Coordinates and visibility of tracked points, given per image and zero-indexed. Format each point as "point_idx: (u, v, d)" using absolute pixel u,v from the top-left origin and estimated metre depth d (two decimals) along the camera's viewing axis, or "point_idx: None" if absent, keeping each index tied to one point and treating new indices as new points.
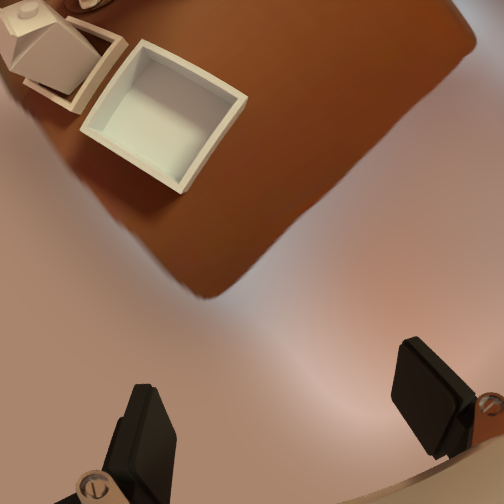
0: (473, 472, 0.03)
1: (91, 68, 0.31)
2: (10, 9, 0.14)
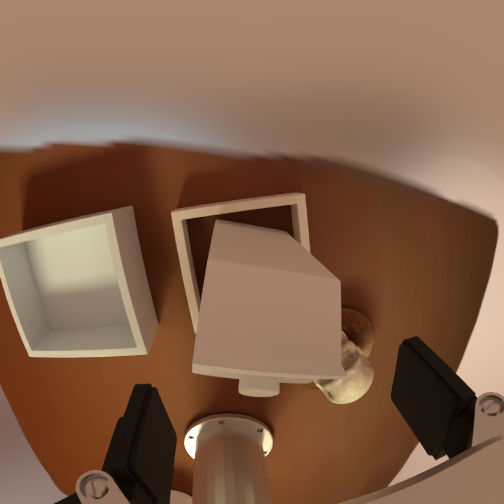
0: (473, 472, 0.03)
1: None
2: None
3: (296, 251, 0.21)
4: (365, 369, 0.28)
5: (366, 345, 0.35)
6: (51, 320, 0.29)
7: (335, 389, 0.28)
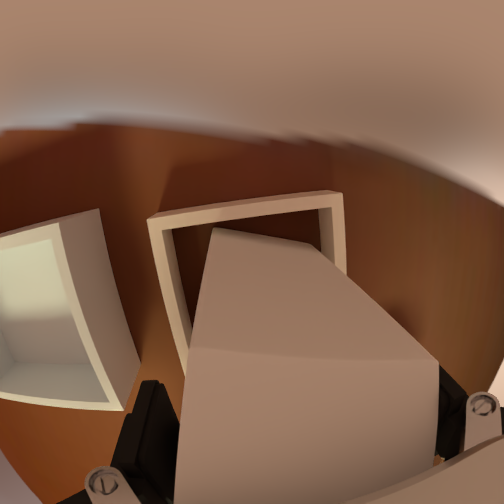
0: (473, 472, 0.03)
1: None
2: None
3: (344, 289, 0.12)
4: None
5: None
6: (14, 350, 0.21)
7: None
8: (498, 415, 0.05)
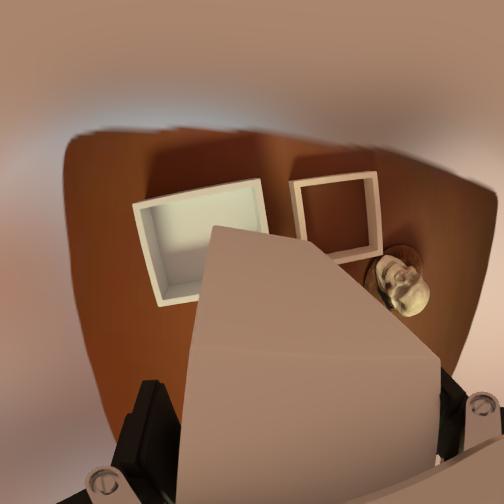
0: (473, 472, 0.03)
1: None
2: None
3: (345, 287, 0.12)
4: (425, 284, 0.39)
5: None
6: (171, 276, 0.41)
7: (408, 299, 0.39)
8: (497, 415, 0.05)
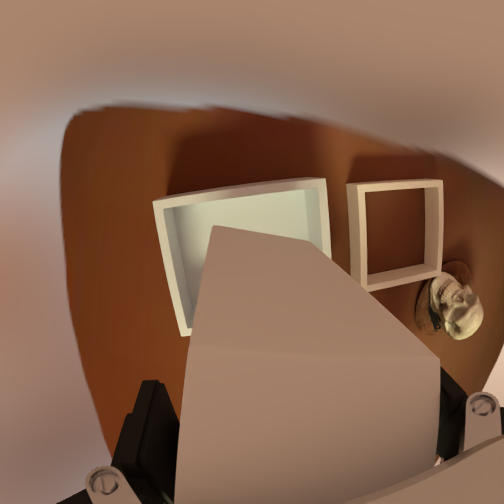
0: (473, 472, 0.03)
1: None
2: None
3: (344, 287, 0.12)
4: (481, 305, 0.31)
5: None
6: (196, 295, 0.33)
7: (465, 322, 0.31)
8: (497, 415, 0.05)
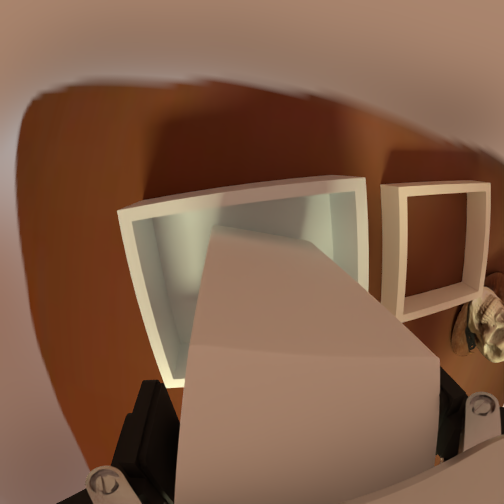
0: (473, 472, 0.03)
1: None
2: None
3: (344, 286, 0.12)
4: None
5: None
6: (185, 329, 0.24)
7: None
8: (497, 415, 0.05)
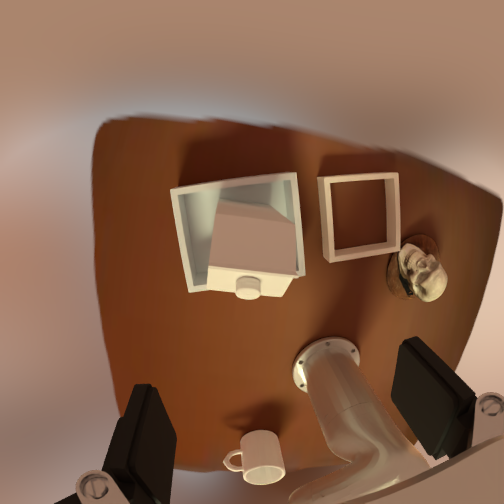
0: (473, 472, 0.03)
1: None
2: (280, 277, 0.25)
3: (272, 213, 0.32)
4: (444, 271, 0.41)
5: None
6: (200, 263, 0.42)
7: (429, 284, 0.40)
8: None
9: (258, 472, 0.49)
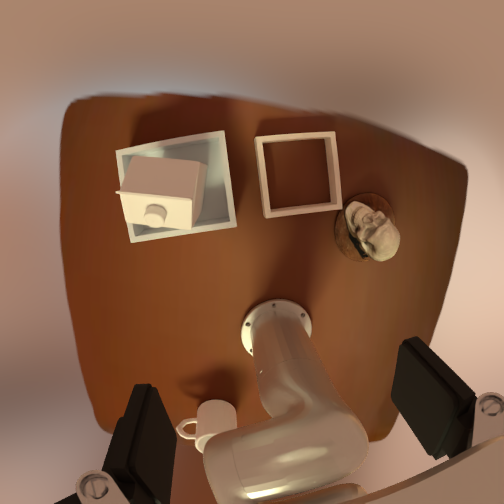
0: (473, 472, 0.03)
1: None
2: (180, 204, 0.27)
3: None
4: (393, 227, 0.43)
5: None
6: None
7: (376, 240, 0.42)
8: None
9: None
